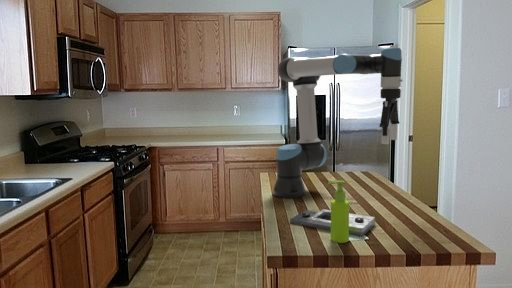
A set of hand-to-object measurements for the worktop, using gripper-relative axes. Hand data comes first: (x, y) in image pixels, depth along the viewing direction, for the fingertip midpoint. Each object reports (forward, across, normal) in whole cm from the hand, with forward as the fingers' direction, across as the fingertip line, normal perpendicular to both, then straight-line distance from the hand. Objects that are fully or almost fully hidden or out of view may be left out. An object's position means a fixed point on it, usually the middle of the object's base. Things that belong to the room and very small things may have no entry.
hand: (389, 141), depth 162 cm
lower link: (+28, -26, +18) cm, 42 cm away
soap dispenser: (+28, -40, +7) cm, 50 cm away
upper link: (+28, -27, +10) cm, 40 cm away
